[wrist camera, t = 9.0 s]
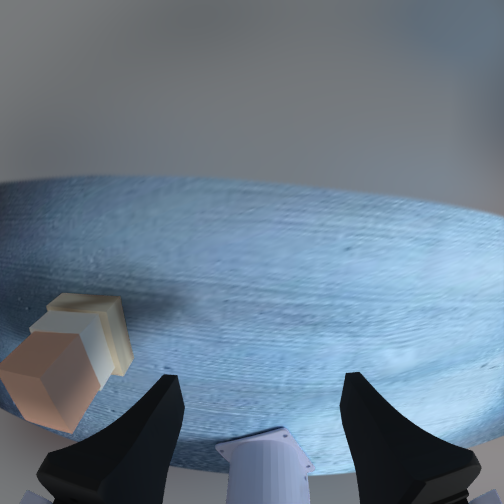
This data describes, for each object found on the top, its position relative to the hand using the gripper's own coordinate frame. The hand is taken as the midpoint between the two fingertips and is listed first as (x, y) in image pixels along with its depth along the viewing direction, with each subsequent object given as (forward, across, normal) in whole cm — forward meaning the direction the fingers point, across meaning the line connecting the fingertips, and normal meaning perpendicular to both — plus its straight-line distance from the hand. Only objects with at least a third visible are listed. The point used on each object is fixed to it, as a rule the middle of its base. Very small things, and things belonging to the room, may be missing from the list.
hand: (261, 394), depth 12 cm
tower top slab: (+8, +14, +3) cm, 17 cm away
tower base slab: (+11, +14, +3) cm, 18 cm away
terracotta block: (+5, +14, +3) cm, 15 cm away
